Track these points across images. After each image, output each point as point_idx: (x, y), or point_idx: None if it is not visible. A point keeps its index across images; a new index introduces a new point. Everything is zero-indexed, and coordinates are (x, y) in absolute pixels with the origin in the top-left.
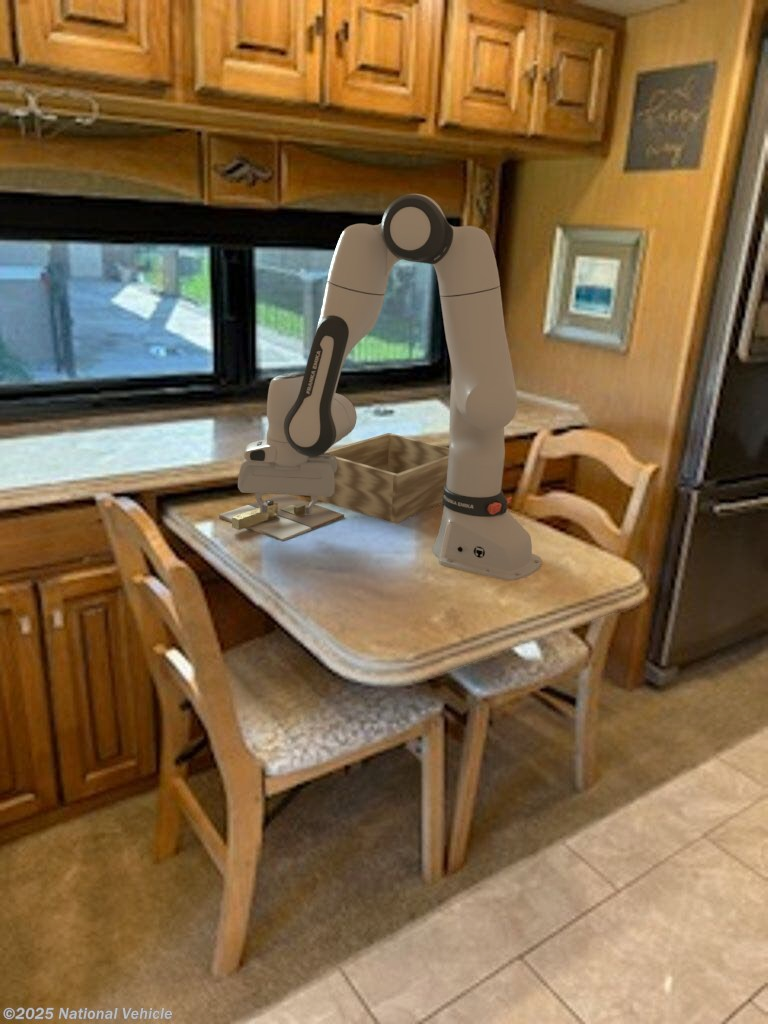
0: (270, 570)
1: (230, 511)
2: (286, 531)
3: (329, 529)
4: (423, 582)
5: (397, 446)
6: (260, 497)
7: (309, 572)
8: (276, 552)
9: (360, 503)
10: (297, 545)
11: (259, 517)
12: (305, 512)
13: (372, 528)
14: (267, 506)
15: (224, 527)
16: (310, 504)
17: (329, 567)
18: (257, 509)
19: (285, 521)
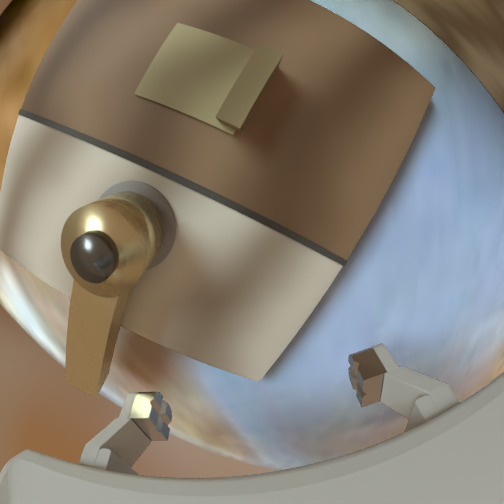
0: (272, 451)
1: (1, 206)
2: (252, 329)
3: (396, 202)
4: (495, 377)
5: None
6: (135, 473)
7: (347, 436)
8: (258, 405)
9: (475, 38)
10: (306, 361)
11: (117, 321)
12: (355, 386)
13: (494, 166)
14: (159, 416)
15: (43, 293)
16: (393, 402)
17: (386, 412)
18: (81, 303)
19: (210, 230)
